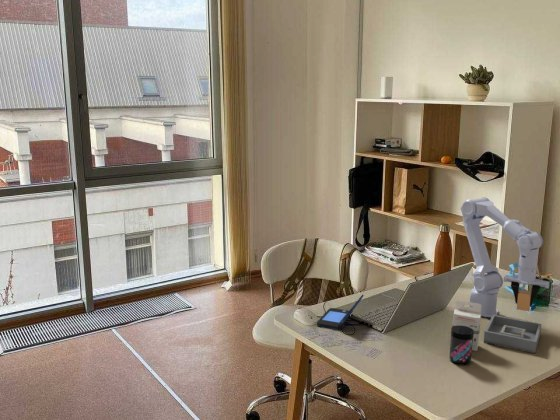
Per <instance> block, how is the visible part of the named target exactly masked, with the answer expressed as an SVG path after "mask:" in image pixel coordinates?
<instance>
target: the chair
mask: <svg viewBox="0 0 560 420" xmlns="http://www.w3.org/2000/svg"><path fill="white" fill-rule="evenodd" d="M508 266H509V272H508V273H507V275H509V276H518V272H517V273H516V272H515V268H518V267H519V262H514V263H511V264H509V265H508ZM526 286H527V285H526V284H522V286H519V290H525V287H526ZM504 289H505V290H506V291H508V292H510V293H511V294H513V295H514V293H513V290H512V288H511V285H505V286H504Z"/></svg>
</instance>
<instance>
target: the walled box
mask: <svg viewBox="0 0 560 420" xmlns="http://www.w3.org/2000/svg"><path fill="white" fill-rule="evenodd" d="M504 325H506V326H512V327H517V328H522V329H525V336H524V338H519V337H515V336H510V335H505V334H501V330H502V328H503V326H504ZM541 332H542V323H538V322H533V321H528V320H522V319H517V318H513V317H507V316H501V315H498V314H497V315H492V317H491V318H490V320H489V322H488V323H487V326H486V328H485V330H484V332H483V343H485V344H489V345H490V344H491V345H493V346H494V345H495V346H499V347H503V348H508V349H513V350H518V351H523V352H527V353H530V354H536V351H537V347H538V344H539V341H540V337H541ZM505 333H510V332H505ZM510 334H515V333H510ZM515 335H519V334H515ZM520 336H521V335H520Z"/></svg>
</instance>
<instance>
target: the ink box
mask: <svg viewBox="0 0 560 420" xmlns="http://www.w3.org/2000/svg"><path fill="white" fill-rule="evenodd" d="M469 306H473V308H470V307H469ZM481 306H482V305H481V304H477V303H471V302H470V301H466V300H465V301H463V300H458V299H457V300H456V301H455V308H454V312H453V316H452V323H451V324H452V326H451V328H452V327H453V326H457V325H461V326H467V327H470V328H471V329H473V330H474V336H473V346H472V352H477V351H478V348H479V343H480V342H479V341H480V331H481V323H482V316H481Z"/></svg>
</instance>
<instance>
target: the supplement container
mask: <svg viewBox="0 0 560 420" xmlns="http://www.w3.org/2000/svg"><path fill="white" fill-rule="evenodd" d="M450 329H451V330H450V340H449V342H450V343H449V360H450V361H451V363H452V364H455V365H459V366H466V365H469V364H470V363H471V362H472V358H473V357H472V355H473V350H472V346H473V336H474V330H473V329H471V328H470V327H467V326H461V325H457V326H453V327H452V326H451V328H450Z"/></svg>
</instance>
